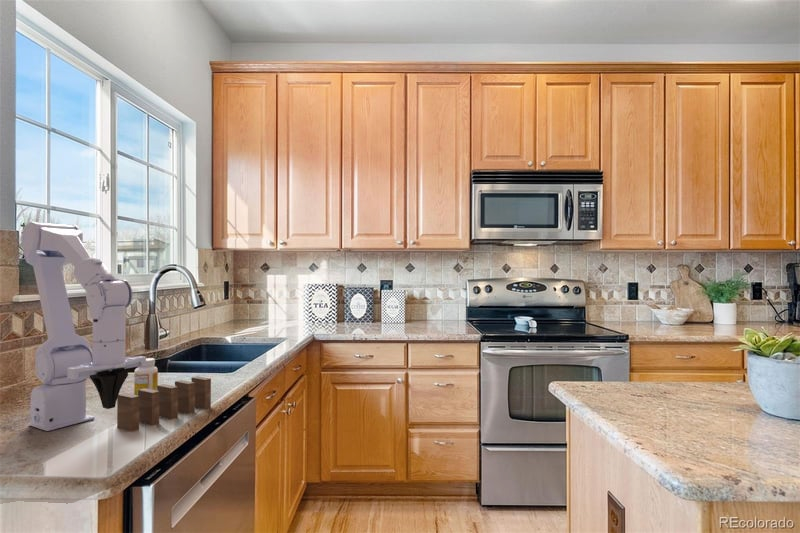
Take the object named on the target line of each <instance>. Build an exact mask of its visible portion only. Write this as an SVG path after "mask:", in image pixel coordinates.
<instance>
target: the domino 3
mask: <svg viewBox="0 0 800 533" xmlns="http://www.w3.org/2000/svg"><path fill="white" fill-rule="evenodd" d="M157 391H159V418H162V419H163V418H164V419H167V420H171V421H172V420H174V419H178V417H179V415H178V414H179V412H178V387H177V386H175V385H172V384H171V385H170V384H167V383H166V384H165V383H163V384H158V385H157Z"/></svg>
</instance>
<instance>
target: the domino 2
mask: <svg viewBox="0 0 800 533" xmlns="http://www.w3.org/2000/svg"><path fill="white" fill-rule="evenodd" d="M138 396H139V424H144V425H148V426H155V425H159V424H160V417H159V391H156V390H151V389H146V388H144V389H140V390H138Z"/></svg>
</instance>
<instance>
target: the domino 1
mask: <svg viewBox="0 0 800 533" xmlns="http://www.w3.org/2000/svg"><path fill="white" fill-rule="evenodd" d="M116 405H117V408H116V409H117V412H116V413H117V414H116V420H117V422H116V424H117V426H116V427H117V429H120V430H125V431H127V432H131V433H132V432H136V431H139V430H140V422H139V396H137V395H134V394H132V393H128V392H123V393H119V394H118V397H117V401H116Z"/></svg>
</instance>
